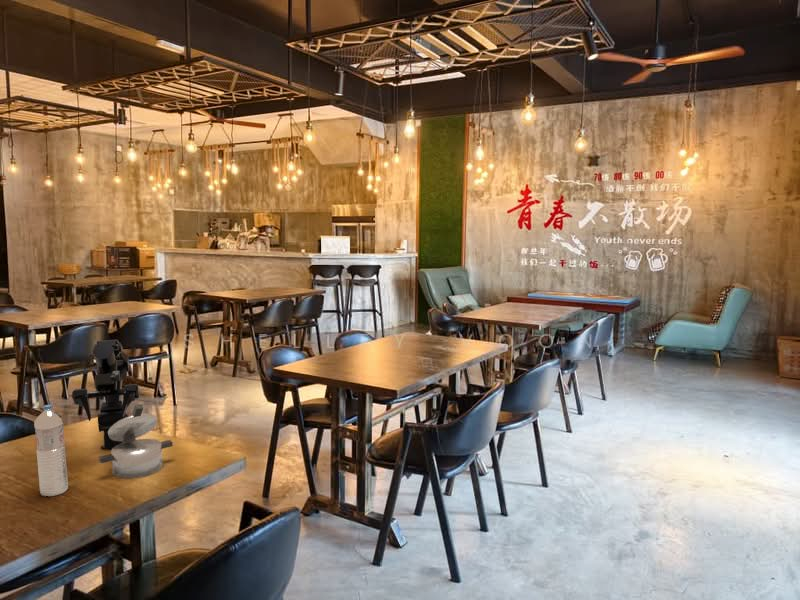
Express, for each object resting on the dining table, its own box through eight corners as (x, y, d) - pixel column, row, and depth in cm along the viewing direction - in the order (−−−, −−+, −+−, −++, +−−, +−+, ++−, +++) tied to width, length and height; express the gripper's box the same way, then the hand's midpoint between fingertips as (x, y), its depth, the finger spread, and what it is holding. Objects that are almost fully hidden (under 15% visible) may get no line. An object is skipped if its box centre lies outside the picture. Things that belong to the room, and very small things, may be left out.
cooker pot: (94, 469, 175) (92, 447, 174) (163, 452, 189) (162, 431, 188) (107, 485, 164) (105, 462, 163) (180, 466, 177) (178, 444, 176)
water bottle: (58, 497, 157) (51, 409, 154) (34, 497, 157) (27, 409, 154) (73, 486, 163) (67, 402, 161) (50, 486, 164) (43, 402, 161)
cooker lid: (105, 445, 176) (104, 440, 176) (152, 434, 185) (151, 430, 186) (114, 414, 164) (113, 409, 165) (164, 404, 173) (162, 400, 174)
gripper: (70, 365, 176) (67, 411, 168) (136, 359, 183) (136, 404, 175) (76, 381, 185) (73, 426, 176) (139, 375, 191) (139, 418, 183)
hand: (106, 418), depth 177 cm, fingers open, 9 cm apart
